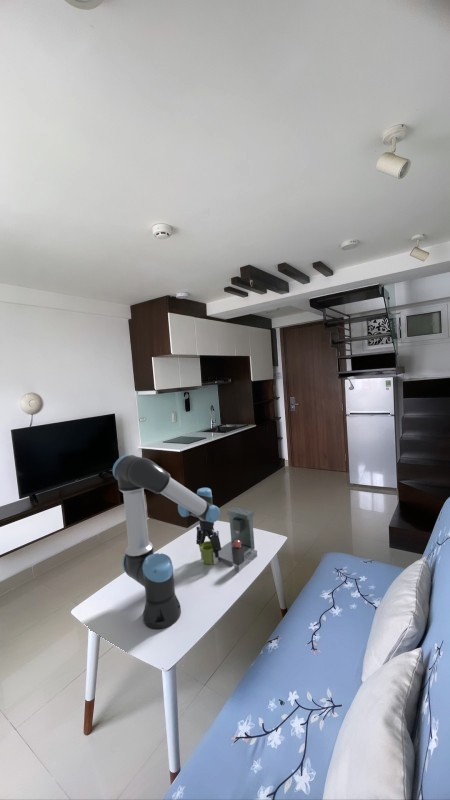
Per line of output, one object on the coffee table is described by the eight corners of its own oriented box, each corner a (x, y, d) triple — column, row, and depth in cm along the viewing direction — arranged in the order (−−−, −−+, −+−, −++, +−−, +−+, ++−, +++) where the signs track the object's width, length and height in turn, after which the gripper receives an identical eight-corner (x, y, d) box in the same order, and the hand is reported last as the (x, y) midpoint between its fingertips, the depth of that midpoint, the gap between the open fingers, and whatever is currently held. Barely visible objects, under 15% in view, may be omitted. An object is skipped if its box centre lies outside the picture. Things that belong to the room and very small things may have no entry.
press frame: (239, 571, 157) (236, 531, 156) (209, 559, 169) (206, 522, 168) (264, 550, 175) (261, 513, 173) (236, 540, 187) (233, 506, 186)
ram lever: (239, 565, 156) (237, 543, 156) (233, 562, 159) (231, 540, 158) (244, 561, 160) (242, 539, 159) (237, 558, 162) (236, 537, 161)
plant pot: (197, 559, 170) (196, 543, 169) (213, 554, 174) (212, 539, 173) (203, 568, 161) (202, 551, 161) (220, 562, 165) (219, 546, 165)
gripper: (226, 519, 163) (229, 563, 164) (197, 511, 176) (200, 551, 178) (216, 525, 157) (220, 570, 158) (187, 516, 171) (190, 557, 172)
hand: (209, 560), depth 168 cm, fingers closed on plant pot, 8 cm apart
